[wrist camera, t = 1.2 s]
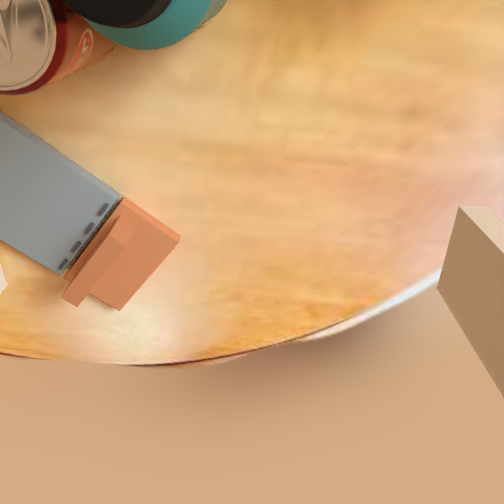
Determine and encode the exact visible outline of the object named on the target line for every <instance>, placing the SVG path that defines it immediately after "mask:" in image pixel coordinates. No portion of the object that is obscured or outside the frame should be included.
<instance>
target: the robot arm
mask: <svg viewBox="0 0 504 504" xmlns="http://www.w3.org/2000/svg"><path fill="white" fill-rule="evenodd" d="M6 286H7V282H6V279H5V276H4V273H3V270H2V267H1V264H0V294H1V292H2V291H3V290H4V289H5V288H6ZM437 289H438V291H439V292H440V294H441V296H442V297H443V299H444V301H445V302H446V304H447V305H448V307H449V309H450V310H451V312H452V314H453V315H454V317H455V319H456V320H457V322H458V323H459V325H460V327H461V328H462V330H463V332H464V333H465V335H466V337H467V338H468V340H469V341H470V343H471V345H472V346H473V348H474V350H475V351H476V353H477V355H478V356H479V358H480V359H481V361H482V363H483V364H484V366H485V368H486V369H487V371H488V373H489V374H490V376H491V378H492V379H493V381H494V382H495V384H496V386H497V387H498V389H499V391H500V392H501V394H502V395H503V397H504V222H503V221H502V220H501V219H500V218H499V217H498V216H497V215H496V214H495V213H494V212H493V211H491V210H490V209H489V208H488V207H487V206H459V208H458V211H457V215H456V219H455V223H454V226H453V230H452V234H451V238H450V241H449V245H448V249H447V253H446V256H445V260H444V264H443V268H442V271H441V275H440V279H439V283H438V286H437Z"/></svg>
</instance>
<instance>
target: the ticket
mask: <svg viewBox="0 0 504 504" xmlns="http://www.w3.org/2000/svg"><path fill="white" fill-rule="evenodd" d="M119 196H120V194H119V193H118V192H116V191H115V190H113V189H112V188H111V187H109V186H108V185H106V184H105V183H103V182H102V181H100V180H99V179H98V178H96V177H95V176H93V175H92V174H90V173H89V172H88V171H86V170H85V169H83V168H82V167H80V166H79V165H77V164H76V163H75V162H73V161H72V160H70V159H69V158H67V157H66V156H64V155H63V154H62V153H60V152H59V151H57V150H56V149H54V148H53V147H52V146H50V145H49V144H47V143H46V142H44V141H43V140H41V139H40V138H39V137H37V136H36V135H34V134H33V133H31V132H30V131H28V130H27V129H26V128H24V127H23V126H21V125H20V124H18V123H17V122H16V121H14V120H13V119H11V118H10V117H8V116H7V115H5V114H4V113H3V112H1V111H0V240H2V241H3V242H5V243H7V244H8V245H10V246H12V247H13V248H15V249H17V250H18V251H20V252H22V253H23V254H25V255H27V256H28V257H30V258H32V259H33V260H35V261H37V262H39V263H40V264H42V265H44V266H45V267H47V268H49V269H50V270H52V271H54V272H55V273H57V274H59V275H61V274H62V273H63V271H64V270H65V269H66V267H67V266H68V265H69V263H70V262H71V261H72V259H73V258H74V257H75V255H76V254H77V252H78V251H79V250H80V248H81V247H82V246H83V244H84V243H85V242H86V240H87V239H88V238H89V236H90V235H91V234H92V232H93V231H94V230H95V228H96V227H97V226H98V224H99V223H100V222H101V220H102V219H103V218H104V216H105V215H106V213H107V212H108V211H109V209H110V208H111V207H112V205H113V204H114V203H115V201H116V200H117V199H118V197H119Z"/></svg>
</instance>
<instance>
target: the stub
mask: <svg viewBox="0 0 504 504" xmlns="http://www.w3.org/2000/svg"><path fill="white" fill-rule="evenodd" d="M180 237H181V236H180V235H178V234H177V233H175V232H174V231H173V230H171V229H170V228H168V227H167V226H165V225H164V224H162V223H161V222H160V221H158V220H157V219H155V218H154V217H152V216H151V215H149V214H148V213H147V212H145V211H144V210H142V209H141V208H139V207H138V206H137V205H135V204H134V203H132V202H131V201H129V200H128V199H126V198H125V197H124V198H123V199H122V201H121V202H120V203H119V205H118V206H117V207H116V209H115V210H114V211H113V213H112V214H111V215H110V217H109V218H108V219H107V221H106V222H105V223H104V225H103V226H102V227H101V229H100V230H99V231H98V233H97V234H96V235H95V237H94V238H93V239H92V241H91V242H90V243H89V245H88V246H87V247H86V249H85V250H84V251H83V253H82V254H81V255H80V257H79V258H78V259H77V261H76V262H75V263H74V265H73V266H72V267H71V269H70V270H69V271H68V273H67V274H66V276H65V277H64V278H65V279H67V280H69V281H70V283H69V285H68V287H67V288H66V290H65V291H64V293H63V295H62V296H61V298H63V299H64V300H66V301H68V302H69V303H71V304H73V305H75V306H76V307H78V306H79V304H80V303H81V302H82V301H83V299H84V298H85V297H86V296H87V294H88V293H91V294H92V295H94V296H96V297H97V298H99V299H101V300H102V301H104V302H106V303H107V304H109V305H111V306H112V307H114V308H116V309H117V310H119V311H120V310H121V309H122V307H123V306H124V305H125V304H126V303H127V302H128V300H129V299H130V298H131V297H132V296H133V295H134V294H135V292H136V291H137V290H138V289H139V288H140V287H141V285H142V284H143V283H144V282H145V281H146V280H147V279H148V277H149V276H150V275H151V274H152V273H153V272H154V270H155V269H156V268H157V267H158V266H159V265H160V264H161V262H162V261H163V260H164V259H165V258H166V257H167V255H168V254H169V253H170V252H171V251H172V250H173V249H174V247H175V246H176V245H177V244H178V243H179V240H180Z"/></svg>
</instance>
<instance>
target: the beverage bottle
mask: <svg viewBox="0 0 504 504" xmlns="http://www.w3.org/2000/svg"><path fill="white" fill-rule="evenodd" d="M64 1H65V2H66V3H67V4H68V5H69V6H70V7H71V8H72V9H73V10H74V11H75V12H77V13H78V14H79V15H81V16H82V17H83V18H84V19H85V20H86V21H87V22H88V23H89V24H90V25H91V26H92V27H93V28H94V29H95V30H96V31H98V32H99V33H100V34H102V35H103V36H105V37H106V38H108V39H109V40H111V41H113V42H115V43H117V44H120V45H123V46H126V47H129V48H134V49H141V50H152V49H160V48H164V47H167V46H170V45H173V44H175V43H177V42H178V41H180V40H182V39H183V38H185V37H186V36H187V35H189V34H190V33H191V32H192V31H193V30H195V29H196V28H197V27H199V26H200V25H202V24H204V23H205V22H207V21H208V20H210V19H211V18H212V17H214V16H215V15H216V14H217V13H218V12H219V11H220V10H221V9H222V7H223V6H224V4H225V3H226V1H227V0H64ZM206 25H207V24H206ZM203 26H204V25H203ZM204 27H205V26H204ZM194 32H196V31H194Z"/></svg>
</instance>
